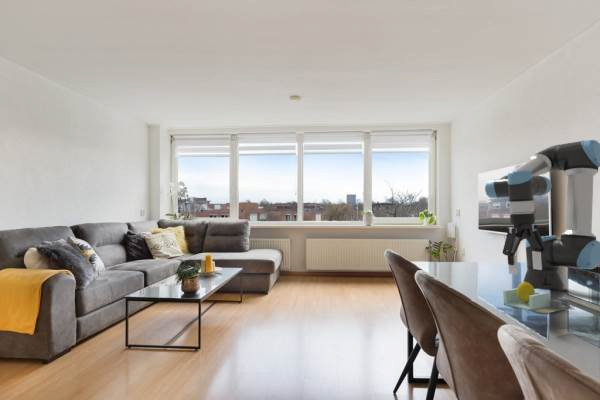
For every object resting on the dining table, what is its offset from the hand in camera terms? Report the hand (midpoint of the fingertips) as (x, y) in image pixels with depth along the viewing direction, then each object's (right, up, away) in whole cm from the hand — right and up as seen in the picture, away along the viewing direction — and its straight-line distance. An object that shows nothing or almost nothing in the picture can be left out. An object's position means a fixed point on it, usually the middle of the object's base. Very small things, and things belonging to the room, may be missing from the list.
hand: (525, 271), depth 129 cm
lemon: (0, -12, 0) cm, 12 cm away
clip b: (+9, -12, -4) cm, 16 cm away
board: (+4, -13, -1) cm, 14 cm away
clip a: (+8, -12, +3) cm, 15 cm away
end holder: (0, -12, -1) cm, 12 cm away
